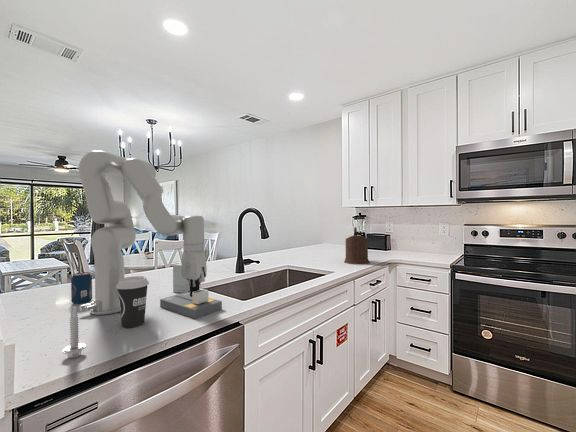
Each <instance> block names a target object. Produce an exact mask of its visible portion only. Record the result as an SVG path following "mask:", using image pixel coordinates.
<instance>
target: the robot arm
mask: <svg viewBox="0 0 576 432" xmlns="http://www.w3.org/2000/svg"><path fill="white" fill-rule="evenodd" d="M105 175H106V176H112V177H116V178H119V179H124V180H125V179H126V180H127V181H128V183H129V184H130V185H131V187H132V189H134V191H135V192H136V194H137V195H138V197H139V198H140V201H142V210H143V213H144V215H145V217H146V219H147V220H148V221H149V223H150V224H151V226H152V227H153V229H154V230H155V231H156V232H157V233H158V234H160V235H162V236H164V237H171V236H177V235H183V252H182V255H181V256H182V257H181V262H180V263H181V276H182V277H184V278H185V279H186V280H188V282H189V286H190V291H189V293H190V297H192V292H194V291H198V290H201V289H200V287H201V284H202V283H204V282H206V280H205V279H206V277H207V270H208V268H207V259H206V252H205V219H204V216H202V215H176V214H175V215H173V214H172V215H171V213H170V212H169V211H168V209H167V208H166V207H165V205H164V203H163V200H162V195H163V192H164V189H163V187H162V185H161V184H160V183H159V182H158V180H157V178H156V176H157V171H156V168H155V167H154V165H153V164H151V162H149V161H146V160H142V159H140V158H137V157H136V158H135V157H131V158H129V157H128V158H127V157H124V156H121V155H117V154H114V153H111V152H108V151H105V150H96V149H95V150H91V151H89V152H86V153H85V154H84V155H83V156H82V157H81V159H80V161H79V164H78V176H79V179H80V182H81V185H82V188H83V191H84V196H85V201H86V205H87V209H88V213H89V216H90V219H91V220H92V221H93V222H94V223H96V224H101V225H102V224H104V225H105V224H108V225H109V226H104V227H101V228H98V229H96V230H95V231H94V232H93V234H92V235H91V240H90V241H91V242H90V243H91V248H92V252H93V259H94V295H95V297H94V298H92V299H91V301H90V302H89V303H86V304H81V305H79V311H85V310H86V311H90V313H91V314H92V315H95V316H96V315H97V316H100V315H101V316H102V315H103V316H104V315H110V314H111V315H113V314H115V313H119V312H120V303H119V295H118V289H117V288H116V285H117V283H118V282H119V280H120V279H123V278H125V259H124V255H123V252H122V250H124V249H128V248H130V247H132V246H133V245H134V244H135V242H136V238H137V237H136V234H137V233H136V229H135V225H134V221H133V217H132V212H131V210H130V208H129V206H128V205H127V204H126V203H125V202H124V201H122V200H119V199H114V197H113V194H112V188H111V186H110V183H109V182H108V180H107V179H106V177H105ZM120 313H121V312H120Z"/></svg>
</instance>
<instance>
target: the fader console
mask: <svg viewBox="0 0 576 432" xmlns="http://www.w3.org/2000/svg"><path fill="white" fill-rule="evenodd" d="M159 299H160V300H159V305H160V306H159V307H160V308H162V309H165V310H168V311H171V312H175V313H177V314H180V315H183V316H186V317H189V318H192V319H195V320H196V319H198V318H202V317H205V316H206V315H210V314H212V313H215V312H218V311H221V310H222V309H223V301H222V300H218V299H214V298H211V297H208V299H209V301H206V302H203V303H200V304H195V303H192V297H190V291H189V292H185V293H184V292H180V293H178V294H175V295H171V296H166V297H164V298H159Z"/></svg>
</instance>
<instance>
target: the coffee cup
mask: <svg viewBox="0 0 576 432" xmlns="http://www.w3.org/2000/svg"><path fill="white" fill-rule="evenodd" d="M149 284H150V282H149V280H148V279H147V277H146V276H143V275H142V276H141V275H140V276H127V277H124V278H123V279H120V280H119V282H118V283H117V285H116V288H117V289H118V295H119V303H120V320H121V327H122V328H124V329H133V328H137V327H138V328H139V327H140V326H143V325H144V324H145V319H146V307H147V306H146V305H147V295H148V285H149Z"/></svg>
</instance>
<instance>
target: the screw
mask: <svg viewBox="0 0 576 432" xmlns="http://www.w3.org/2000/svg"><path fill="white" fill-rule="evenodd" d="M69 330H70V331H69V339H70V340H69V342H70V343H69V344H70V345H67V346H65V347H64V348H63V349H62V353H63V354H64V355H67V358H68V359H71V358H73V359H76V358H78V357H80V356H81V355H82V351H83V350H85V349H86V348H87V345H86V344H85V343H84V342H83V343H82V342H79V341H80V340H79V338H80V337H79V314H78V307H77V305H76V306H75V305H73V306H71V307H70V317H69Z"/></svg>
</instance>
